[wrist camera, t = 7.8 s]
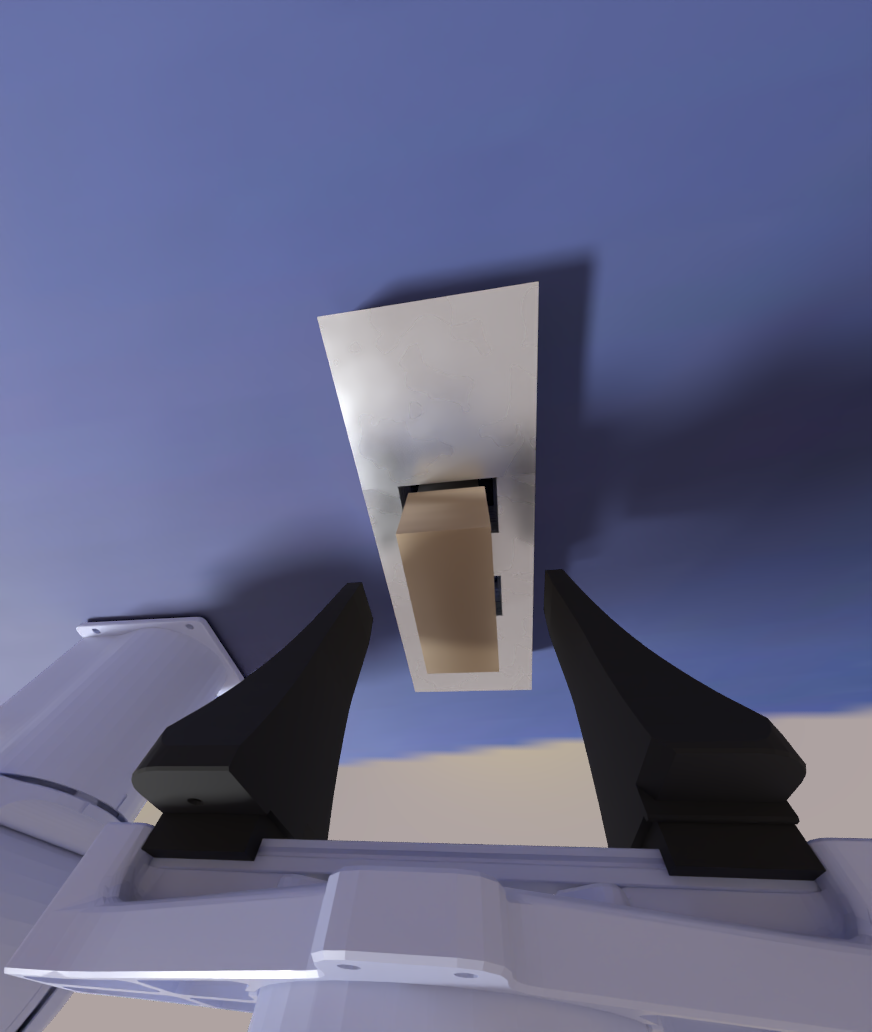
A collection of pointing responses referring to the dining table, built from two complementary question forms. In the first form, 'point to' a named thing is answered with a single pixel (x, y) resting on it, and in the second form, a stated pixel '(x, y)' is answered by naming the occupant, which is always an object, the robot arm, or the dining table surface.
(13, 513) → the dining table surface
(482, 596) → the clip
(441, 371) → the grey plate with holes
